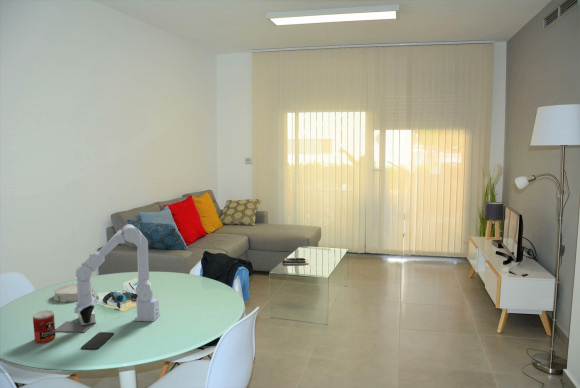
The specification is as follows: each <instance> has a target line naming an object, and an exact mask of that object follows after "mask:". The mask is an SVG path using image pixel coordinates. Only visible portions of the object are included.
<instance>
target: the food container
mask: <svg viewBox="0 0 580 388" xmlns="http://www.w3.org/2000/svg"><path fill="white" fill-rule="evenodd" d="M53 292H54V297H53V299H54V301H55V302H60V303H67V302H78V292H77V283H72V284H67V285H64V286H63V285H62V286H59V287H58V288H56V289H55V290H54V291H53ZM95 293H96V292H95V290H94V287H93V285H92V296H93V295H94V294H95Z"/></svg>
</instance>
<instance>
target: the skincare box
mask: <svg viewBox="0 0 580 388" xmlns="http://www.w3.org/2000/svg"><path fill="white" fill-rule="evenodd" d="M77 316H78V320H79V322H80V323H81V325H86V324H90V323H95V322H96V321H97V320H96V314H95V311H94V310H93V311H92V314H91V319H90V323H84V322H83V319H82V317H81V315H80V313H77ZM96 323H97V322H96Z"/></svg>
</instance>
